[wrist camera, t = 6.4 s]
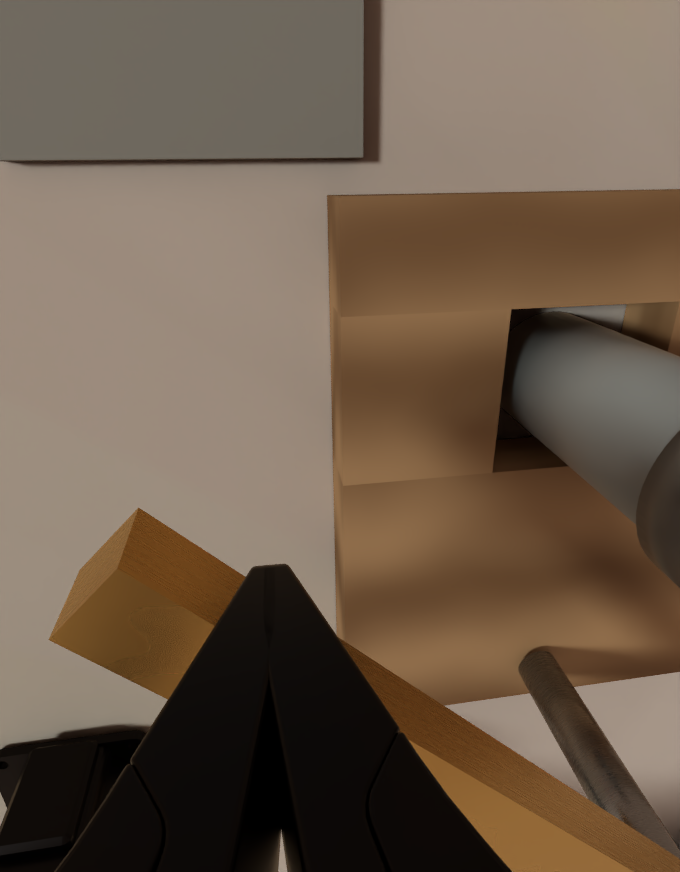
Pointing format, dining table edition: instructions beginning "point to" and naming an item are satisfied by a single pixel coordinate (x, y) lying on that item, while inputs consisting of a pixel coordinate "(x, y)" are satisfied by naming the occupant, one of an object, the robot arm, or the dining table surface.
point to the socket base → (485, 439)
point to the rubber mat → (181, 79)
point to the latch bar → (410, 708)
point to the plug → (604, 418)
